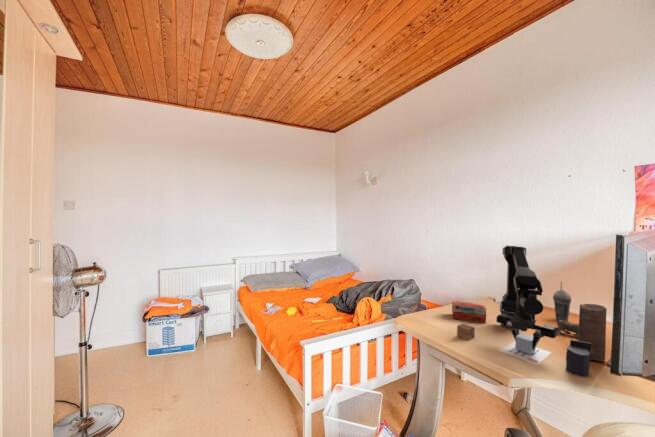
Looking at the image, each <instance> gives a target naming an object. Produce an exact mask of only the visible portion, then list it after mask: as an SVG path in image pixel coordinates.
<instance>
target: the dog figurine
mask: <svg viewBox="0 0 655 437" xmlns="http://www.w3.org/2000/svg"><path fill="white" fill-rule="evenodd" d="M559 318H561V319H563V318H562V317H557V320H558V321H557V320H556V321H557V324H556V325H557V329H558V330H559V334H560V336H562V335H563V336H564V333H565V334H568V335H572V336H573V337H575V338H577V339H578V336H579V323H570V322H565V319H563V320H559Z"/></svg>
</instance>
